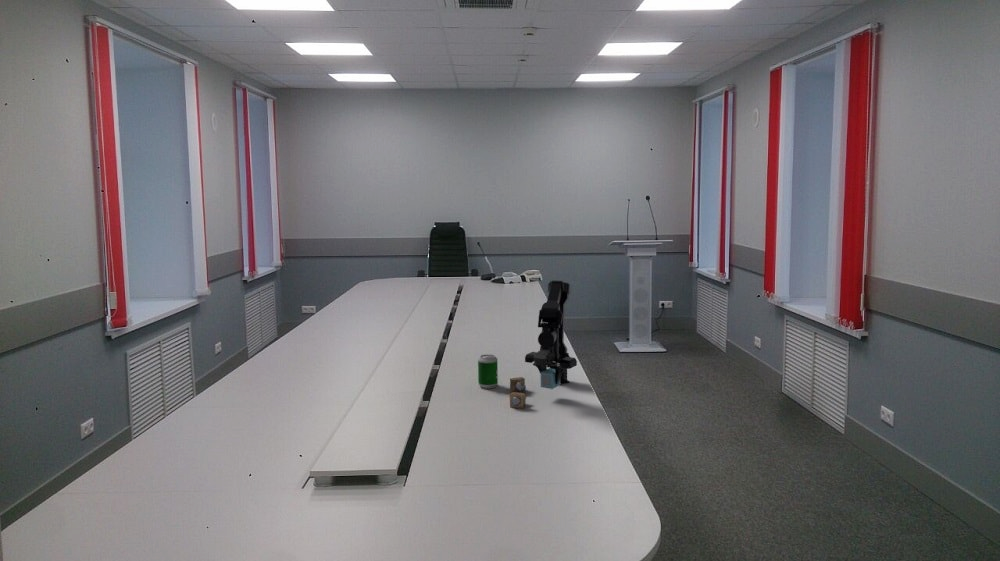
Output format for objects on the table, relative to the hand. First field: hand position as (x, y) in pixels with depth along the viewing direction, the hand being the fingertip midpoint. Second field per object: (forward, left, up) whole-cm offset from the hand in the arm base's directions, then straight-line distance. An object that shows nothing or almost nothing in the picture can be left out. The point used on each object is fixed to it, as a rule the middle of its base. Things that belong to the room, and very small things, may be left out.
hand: (550, 383), depth 236 cm
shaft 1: (+7, -13, -6) cm, 15 cm away
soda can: (+14, -24, -6) cm, 28 cm away
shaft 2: (+14, +2, -6) cm, 15 cm away
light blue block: (0, 0, -1) cm, 1 cm away
